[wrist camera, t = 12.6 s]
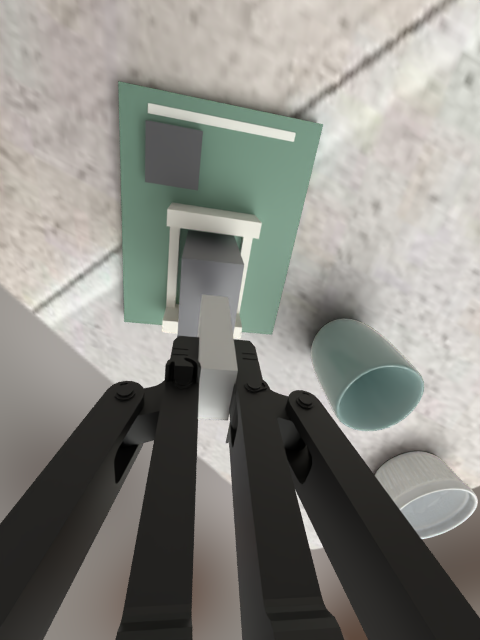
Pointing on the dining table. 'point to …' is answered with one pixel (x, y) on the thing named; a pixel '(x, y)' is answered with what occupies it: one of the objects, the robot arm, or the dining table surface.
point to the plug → (208, 276)
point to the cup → (364, 376)
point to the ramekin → (427, 492)
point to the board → (208, 197)
